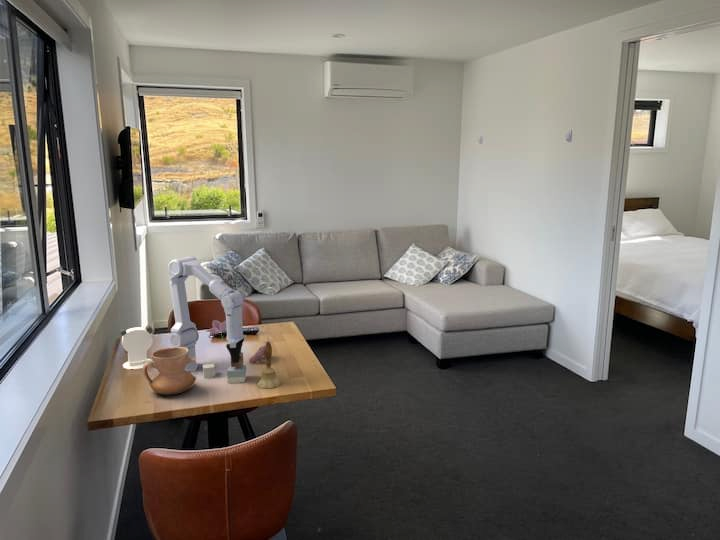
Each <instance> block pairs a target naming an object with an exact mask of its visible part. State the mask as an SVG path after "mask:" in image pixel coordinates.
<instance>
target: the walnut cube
mask: <svg viewBox="0 0 720 540" xmlns="http://www.w3.org/2000/svg"><path fill="white" fill-rule="evenodd" d="M244 362H245V361H244V352H242V351H241V352H240V356H239V362H238V363H233V362H232V359H231V358H230V365H231V367H242V366H243V365H244Z"/></svg>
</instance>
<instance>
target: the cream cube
mask: <svg viewBox="0 0 720 540" xmlns="http://www.w3.org/2000/svg"><path fill="white" fill-rule="evenodd" d="M215 369H216V367H215V364H214V363H207V364H202V372H203V373H202V374H203V379H209V378H208V377H211V378H216V370H215Z"/></svg>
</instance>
